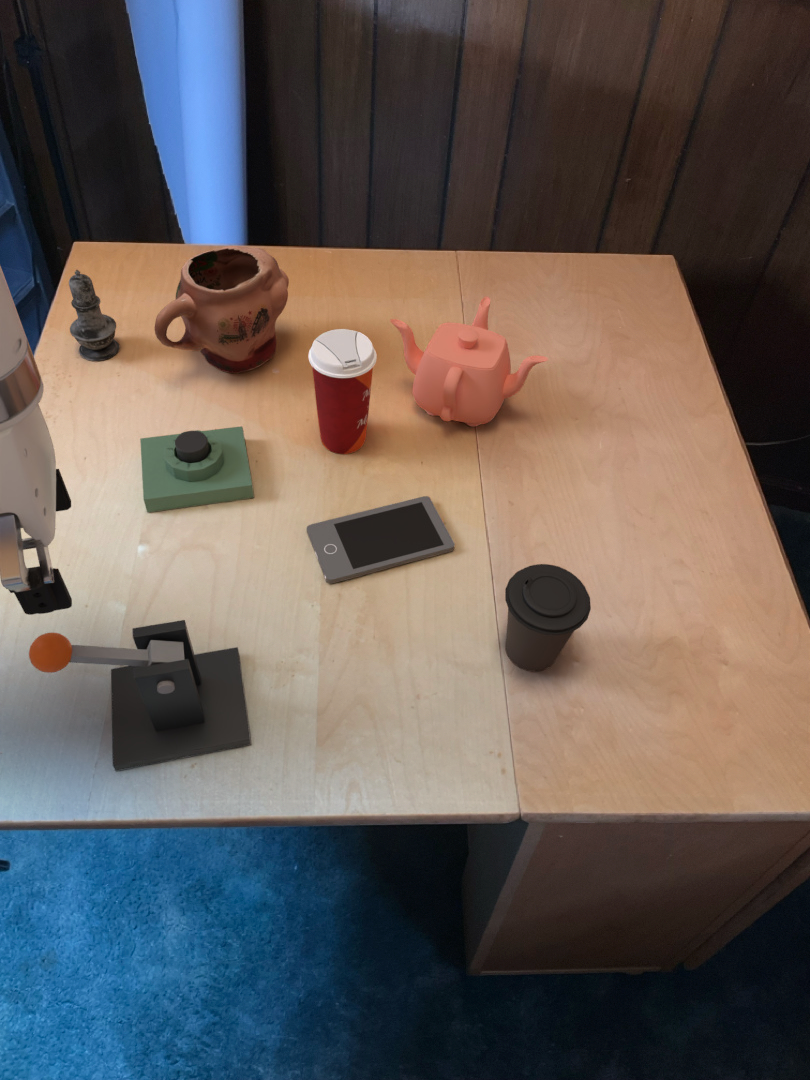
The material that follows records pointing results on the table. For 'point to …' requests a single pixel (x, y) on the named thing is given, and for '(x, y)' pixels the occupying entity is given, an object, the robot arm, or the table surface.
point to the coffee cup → (543, 614)
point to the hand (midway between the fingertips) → (50, 556)
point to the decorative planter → (228, 307)
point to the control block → (195, 471)
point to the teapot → (463, 370)
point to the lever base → (177, 703)
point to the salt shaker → (91, 322)
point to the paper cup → (342, 387)
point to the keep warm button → (192, 446)
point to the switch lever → (98, 653)
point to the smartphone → (379, 539)
